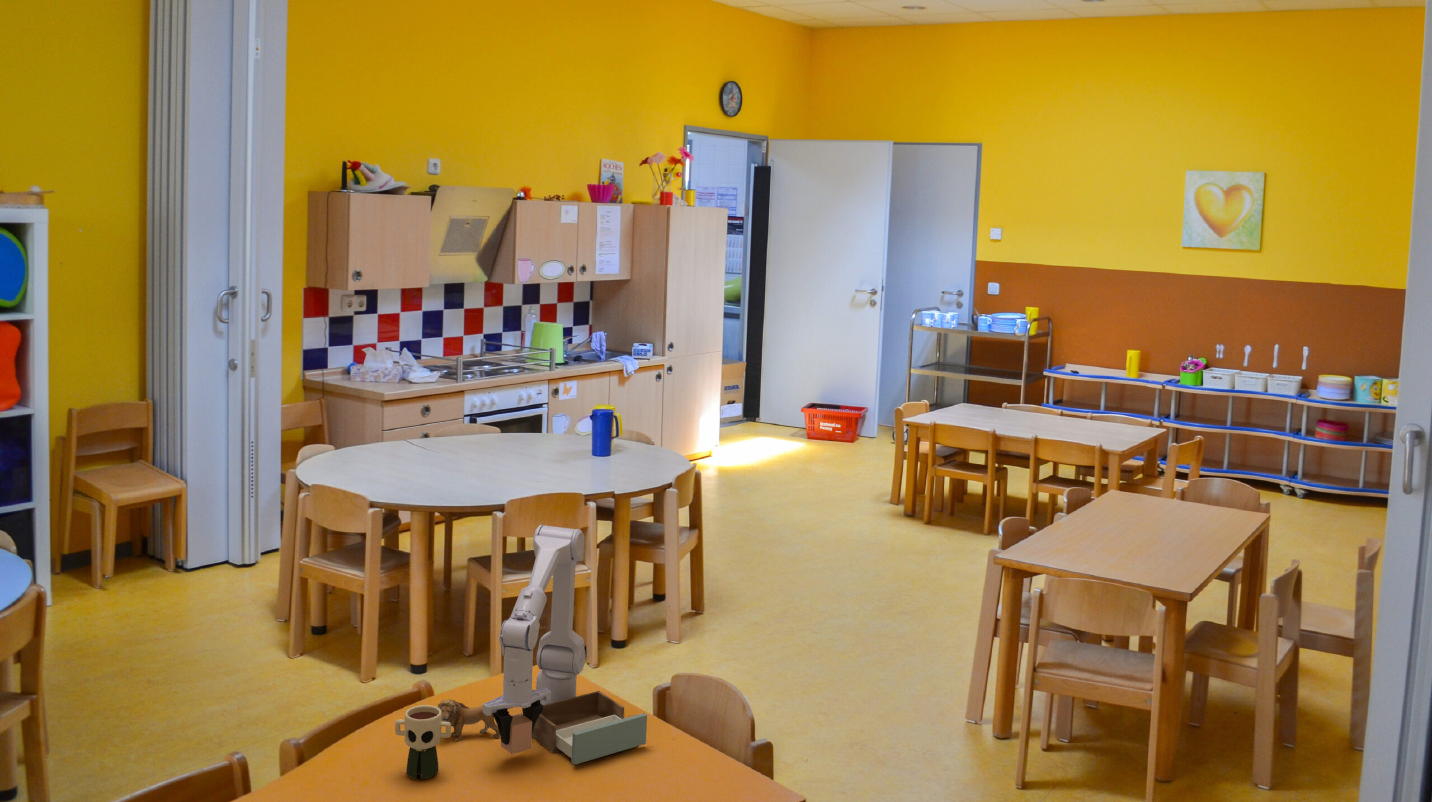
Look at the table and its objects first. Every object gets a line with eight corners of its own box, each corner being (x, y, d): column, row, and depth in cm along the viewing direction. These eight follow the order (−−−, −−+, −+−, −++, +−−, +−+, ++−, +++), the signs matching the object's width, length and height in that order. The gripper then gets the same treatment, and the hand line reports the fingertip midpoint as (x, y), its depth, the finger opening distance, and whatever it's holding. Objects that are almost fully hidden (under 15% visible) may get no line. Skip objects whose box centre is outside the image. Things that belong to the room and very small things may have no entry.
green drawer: (547, 744, 247) (548, 715, 246) (617, 724, 258) (619, 697, 256) (574, 764, 238) (575, 734, 237) (645, 743, 249) (647, 715, 248)
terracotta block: (500, 745, 241) (501, 717, 240) (520, 740, 244) (521, 712, 242) (511, 754, 237) (512, 726, 236) (531, 748, 240) (532, 721, 239)
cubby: (528, 734, 253) (529, 708, 252) (597, 716, 264) (598, 690, 263) (552, 753, 245) (553, 725, 244) (623, 733, 256) (624, 707, 255)
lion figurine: (439, 746, 245) (439, 706, 244) (434, 735, 250) (434, 695, 248) (508, 737, 251) (509, 697, 250) (502, 726, 256) (503, 687, 254)
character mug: (389, 781, 230) (390, 718, 228) (399, 763, 237) (400, 703, 235) (445, 784, 230) (447, 721, 228) (453, 766, 237) (455, 705, 235)
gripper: (495, 691, 230) (493, 756, 233) (559, 675, 239) (557, 738, 242) (478, 678, 236) (476, 742, 238) (541, 664, 245) (539, 725, 247)
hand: (516, 739), depth 240 cm, fingers closed on terracotta block, 4 cm apart
